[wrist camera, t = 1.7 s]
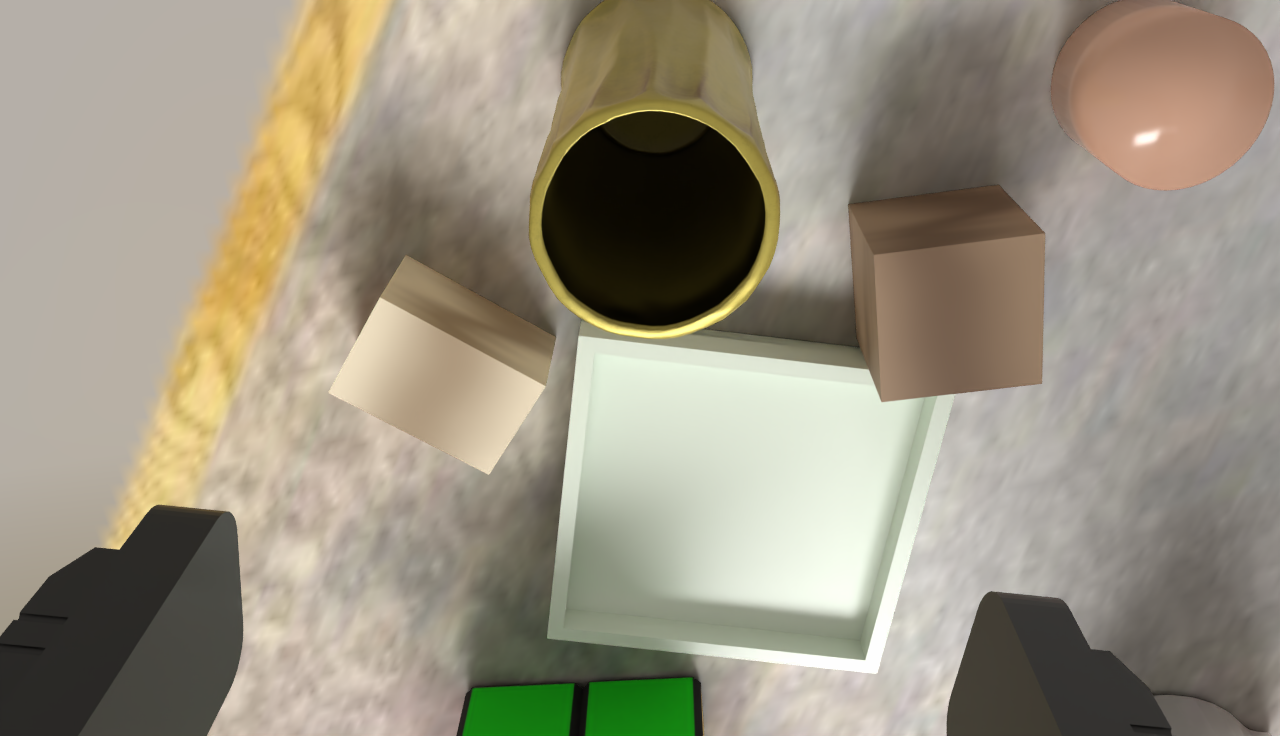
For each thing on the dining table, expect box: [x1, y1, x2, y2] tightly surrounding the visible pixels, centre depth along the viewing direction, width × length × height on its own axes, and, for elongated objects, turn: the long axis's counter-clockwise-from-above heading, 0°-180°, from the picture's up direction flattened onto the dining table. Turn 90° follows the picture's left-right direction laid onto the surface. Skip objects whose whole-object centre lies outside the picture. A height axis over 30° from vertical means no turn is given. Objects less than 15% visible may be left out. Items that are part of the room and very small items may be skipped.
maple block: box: [328, 255, 556, 475], centre depth 38 cm, size 6×4×4 cm, turn 59°
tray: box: [547, 319, 955, 674], centre depth 41 cm, size 13×13×2 cm
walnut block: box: [848, 185, 1045, 402], centre depth 36 cm, size 5×5×5 cm
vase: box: [529, 0, 780, 339], centre depth 29 cm, size 6×6×14 cm
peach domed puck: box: [1051, 0, 1274, 190], centre depth 33 cm, size 5×5×4 cm
